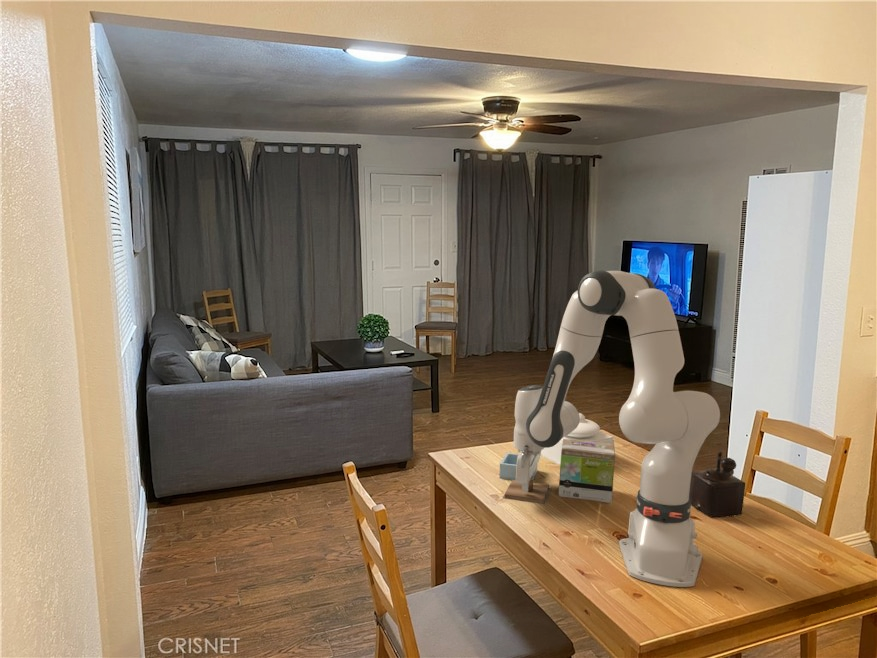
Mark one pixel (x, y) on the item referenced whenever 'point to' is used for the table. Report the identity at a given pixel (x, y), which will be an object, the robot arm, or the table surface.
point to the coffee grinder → (717, 490)
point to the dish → (510, 467)
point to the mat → (530, 501)
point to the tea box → (587, 470)
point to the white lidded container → (578, 438)
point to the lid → (534, 493)
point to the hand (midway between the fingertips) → (527, 486)
